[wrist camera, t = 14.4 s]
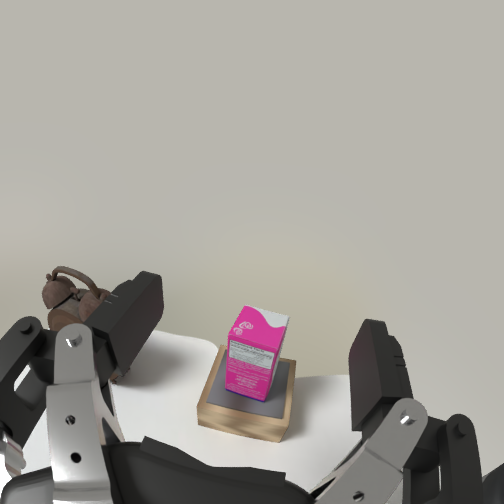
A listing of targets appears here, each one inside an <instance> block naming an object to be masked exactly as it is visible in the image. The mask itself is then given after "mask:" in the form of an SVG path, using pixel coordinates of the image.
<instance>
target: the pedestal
mask: <svg viewBox="0 0 504 504" xmlns="http://www.w3.org/2000/svg"><path fill="white" fill-rule="evenodd" d="M226 362H227V346H224V345H221V346H220V348H219V351H218V353H217V356H216V358H215V361H214V364H213V366H212V369H211V371H210V374H209V376H208V379H207V382H206V384H205V387H204V389H203V392H202V394H201V397H200V399H199V402H198V405H197V417H198V425H201V426H204V427H208V428H212V429H215V430H219V431H223V432H227V433H231V434H236V435H240V436H245V437H250V438H255V439H260V440H265V441H271V442H277V443H279V442H280V440H281V439H282V437H283V435H284V433H285V432H286V430H287V428H288V425H289V418H290V411H291V403H292V395H293V386H294V378H295V368H296V361H295V360H289V359H284V358H279V361H278V364H277V368H276V372H275V376H274V379H273V382H272V385H271V388H270V391H269V393H268V396H267V398H266V400H265V402H264V403H263V402H260V401H257V400H254V399H251V398H247V397H244V396H241V395H239V394H236V393H233V392H230V391H227V390H225V380H226Z"/></svg>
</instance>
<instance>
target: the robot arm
mask: <svg viewBox="0 0 504 504" xmlns="http://www.w3.org/2000/svg"><path fill="white" fill-rule="evenodd" d="M163 309H164V301H163V290H162V279H161V276H160V275H158V274H154V273H149V272H146V271H142V272H140V273H139V274H138V275H137V276H136V277H135V279H133V281H131V280H128V281H126V282H124V283H122V284H120V285H118V286H117V287H116V288H115V289H114V290H113V291H112V292H111V295H108V297H107V298H106V299H105V301H103V302H102V303H101V304H100V305H99V306H98V307H97V308H96V309H95V310H94V311H93V313H92V314H91V315H90V316H89V317H88V318H87V319H86V320H85V321H84V322H83V323H82V324H79V323H74V324H70V325H67V326H65V327H63V328H62V329H61V330H60V331H53V330H47V329H43V327H42V325H41V322H40V321H39V320H38V319H37V318H36V317H32V316H28V317H24V318H22V319H20V320H18V321H17V322H16V323H15V324H14V325H13V326H12V327H11V328H10V329H9V331H8V332H7V333H6V334H5V335H4V336H3V337H2V338H1V340H0V504H385V503H386V501H387V500H388V499H389V497H390V496H391V495H392V493H393V492H394V490H395V489H396V487H397V486H398V484H399V483H400V481H401V480H402V478H403V500H402V504H504V463H503V464H502V465H500V466H499V467H497V468H496V469H495V470H493V471H491V472H490V473H488V474H487V475H485V476H483V477H482V474H481V465H480V457H479V451H478V445H477V439H476V434H475V429H474V426H473V423H472V422H471V420H470V419H469V418H468V417H466V416H465V415H462V414H455V415H453V416H451V417H450V418H449V419H448V420H447V421H443V420H440V419H436V418H433V417H430V416H428V415H427V411H426V409H425V408H424V406H423V405H422V404H421V403H420V402H418V401H417V400H414V398H413V394H412V389H411V385H410V381H409V376H408V372H407V368H406V367H405V366H406V364H405V360H404V359H403V353H402V349H401V346H400V344H399V343H398V341H397V340H396V339H395V337H394V336H390V335H388V331H387V327H386V324H385V322H383V321H378V320H372V319H365V320H364V322H363V324H362V326H361V328H360V330H359V332H358V334H357V336H356V338H355V340H354V342H353V344H352V347H351V349H350V353H349V375H350V392H351V418H352V431H362V438H361V439H360V440H359V441H358V443H357V444H356V445H355V446H354V447H353V449H352V450H351V451H350V452H349V453H348V454H347V455H346V457H345V458H344V459H343V460H342V461H341V462H340V463H339V464H338V465H337V466H336V467H335V469H334V470H333V471H332V472H331V473H330V474H329V475H328V476H326V477H325V478H324V479H323V480H322V481H321V482H320V483H318V484H317V485H316V486H315V487H314V488H313V489H312V490H311V491H310V492H306V491H305V490H304V489H302V488H301V487H299V486H298V485H296V484H294V483H292V482H290V481H287V480H285V476H286V473H285V472H277V471H270V470H264V469H258V468H253V467H212V466H209V465H206V464H205V463H203V462H201V461H199V460H197V459H195V458H194V457H192V456H190V455H188V454H187V453H185V452H183V451H182V450H180V449H178V448H176V447H173V446H170V445H167V444H165V443H162V442H159V441H157V440H154V439H152V438H149V437H147V436H145V437H144V439H143V441H142V443H141V442H125V439H124V436H123V433H122V431H121V428H120V426H119V423H118V419H117V414H116V410H115V405H114V399H113V394H112V388H111V382H110V379H109V378H110V377H111V375H112V374H113V373H115V374H118V375H120V376H122V377H123V376H124V374H125V373H126V371H127V370H128V368H129V367H130V365H131V363H132V362H133V360H134V359H135V357H136V356H137V354H138V353H139V351H140V349H141V348H142V346H143V345H144V343H145V342H146V340H147V339H148V337H149V336H150V334H151V333H152V331H153V330H154V328H155V327H156V325H157V323H158V322H159V321H160V319H161V317H162V314H163ZM27 364H28V365H29V367H30V368H31V370H30V371H29V372H28V374H27V375H26V376H25V378H24V379H23V381H22V382H21V384H20V385H19V386H18V388H17V389H16V391H14V383H15V381H16V379H17V378H18V376H19V375H20V374H21V372H22V371H23V370H24V368H25V367H26V366H27ZM45 409H47V429H48V441H49V450H50V458H51V465H52V466H50V467H47V468H43V469H40V470H37V471H33V472H30V473H26V474H22V475H21V469H24V468H25V467H26V461H25V459H24V458H23V451H22V449H23V447H24V445H25V443H26V442H27V440H28V438H29V436H30V434H31V433H32V431H33V429H34V427H35V426H36V424H37V422H38V421H39V419H40V417H41V415H42V414H43V412H44V410H45ZM439 466H440V471H441V490H440V485H439ZM402 468H403V472H402V471H401V469H402Z"/></svg>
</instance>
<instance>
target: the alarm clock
mask: <svg viewBox="0 0 504 504" xmlns="http://www.w3.org/2000/svg"><path fill="white" fill-rule="evenodd" d="M58 273H65V274H68V275H70V276H73V277H75V278H77V279H79V280H80V281H82V282H84V283H85V284H86V285H87V286H88V288H89V289H90V290H86V289H77V288H76V286H75V285H74V284H73V282H72V281H70V279H68V278H67V277H65V276H57V274H58ZM46 278H47V280H48V281H47V284H46V285H45V287H44V288H43V291H42V297H43V301H44V303H45V305H46V307H47V309H51V308H53V309H52V310H51V311H50V312H49V314H48V325H49V328H50V330H53V331H60V330H61V329H62V328H63V327H65V326H67V325H70V324H74V323H79V324H82V323H83V322H84V321H85V320H86V319H87V318H88V317H89V316H90V315H91V314H92V313H93V311H94V310H95V309H96V308H97V307H98V306H99V305H100V304H101V303H102V302H103V301H105V299H106V298H107V297H108V295H111V293H110V292H109V291H107V290H105V289H100V288H97V286H96V285H95V283H94V282H93V281H92V280H91V279H90V278H89V277H87V276H86V275H84V274H83V273H81V272H79V271H77V270H74V269H71V268H68V267H64V266H58V267H57V268H55V269H54V270H53V272H52V276H51V275H50V274H47V275H46ZM129 369H130V367H129V368H128V370H129ZM117 376H118V374H115V373H113V374H112V375H111V377H110V378H109V379H110V380H111V381H112V382H113V384H116V381H114V379H115V378H117Z"/></svg>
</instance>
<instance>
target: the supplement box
mask: <svg viewBox="0 0 504 504" xmlns="http://www.w3.org/2000/svg"><path fill="white" fill-rule="evenodd" d="M288 321H289V316H286V315H282V314H278V313H274V312H270V311H266V310H263V309H260V308H256V307H253V306H249V305H245V306H244V308H243V309H242V311H241V313H240V314H239V316H238V318H237V320H236V321H235V323H234V325H233V327H232V328H231V331H230V332H229V334H228V346H227V362H226V380H225V390H227V391H230V392H233V393H236V394H239V395H241V396H244V397H247V398H251V399H254V400H257V401H260V402H263V403H264V402H265V400H266V398H267V396H268V393H269V391H270V388H271V385H272V382H273V379H274V376H275V372H276V368H277V364H278V361H279V357H280V353H281V349H282V345H283V341H284V337H285V333H286V330H287V325H288Z"/></svg>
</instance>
